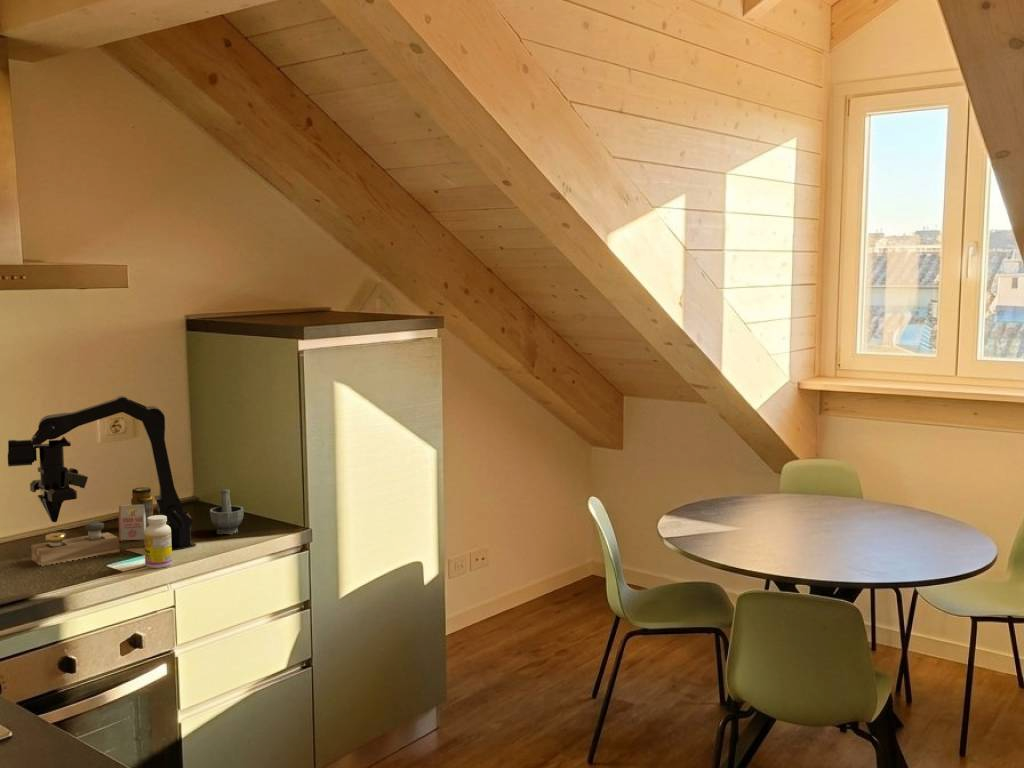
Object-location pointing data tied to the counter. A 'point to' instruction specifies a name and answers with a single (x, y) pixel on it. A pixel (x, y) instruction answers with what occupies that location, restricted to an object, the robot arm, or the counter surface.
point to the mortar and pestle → (226, 515)
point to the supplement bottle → (157, 542)
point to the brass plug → (55, 539)
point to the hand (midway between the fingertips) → (54, 521)
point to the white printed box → (132, 522)
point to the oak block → (74, 549)
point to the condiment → (143, 500)
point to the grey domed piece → (94, 530)
